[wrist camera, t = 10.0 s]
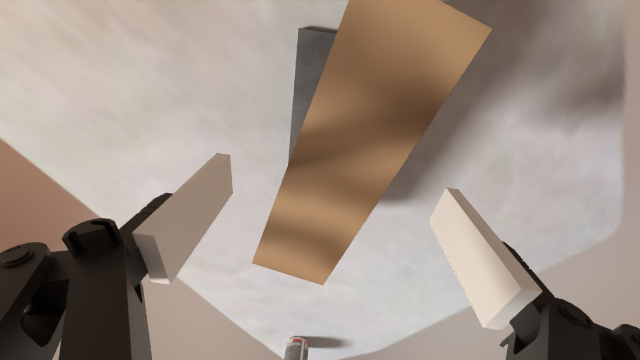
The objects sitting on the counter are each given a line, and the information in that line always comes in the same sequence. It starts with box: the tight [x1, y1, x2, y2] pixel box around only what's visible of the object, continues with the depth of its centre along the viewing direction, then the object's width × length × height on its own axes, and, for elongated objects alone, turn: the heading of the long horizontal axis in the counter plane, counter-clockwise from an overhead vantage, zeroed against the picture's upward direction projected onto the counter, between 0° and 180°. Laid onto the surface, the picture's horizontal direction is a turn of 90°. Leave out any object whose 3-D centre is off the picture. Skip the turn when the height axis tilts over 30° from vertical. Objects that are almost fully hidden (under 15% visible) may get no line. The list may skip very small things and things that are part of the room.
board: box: [252, 0, 492, 285], centre depth 18 cm, size 22×7×4 cm, turn 158°
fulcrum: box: [288, 28, 336, 164], centre depth 23 cm, size 18×10×7 cm, turn 172°
